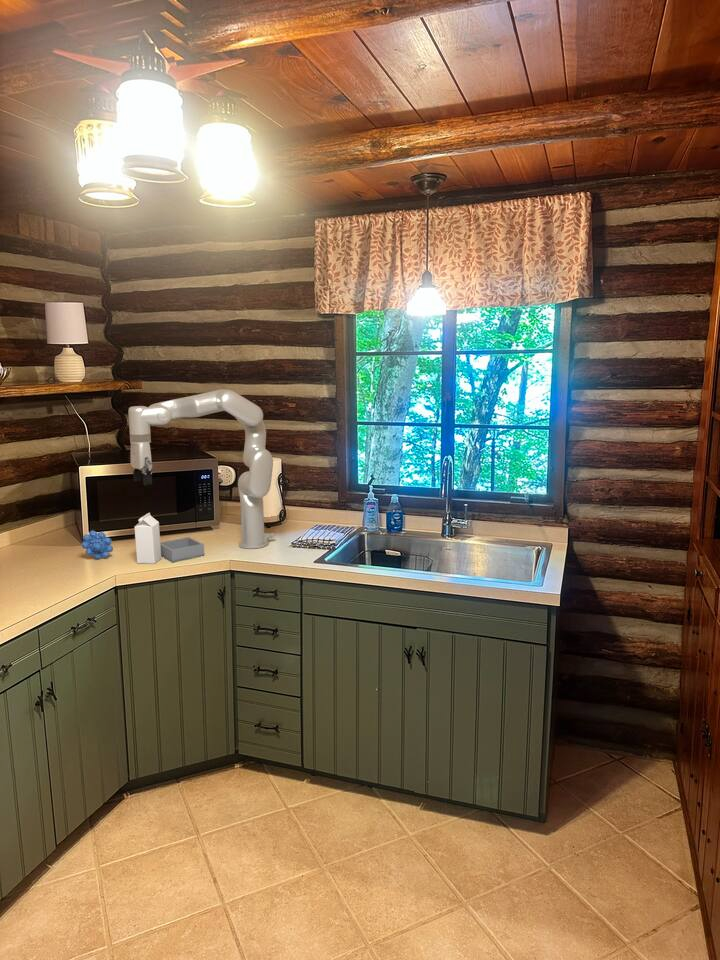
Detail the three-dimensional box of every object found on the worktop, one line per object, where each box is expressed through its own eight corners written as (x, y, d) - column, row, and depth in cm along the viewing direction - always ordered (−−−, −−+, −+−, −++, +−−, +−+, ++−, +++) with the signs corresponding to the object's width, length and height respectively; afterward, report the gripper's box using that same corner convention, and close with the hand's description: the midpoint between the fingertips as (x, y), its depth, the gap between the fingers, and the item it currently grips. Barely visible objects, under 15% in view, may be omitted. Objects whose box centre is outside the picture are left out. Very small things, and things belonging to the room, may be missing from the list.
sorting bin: (189, 548, 290) (188, 537, 289) (204, 555, 279) (203, 544, 278) (158, 554, 281) (157, 543, 280) (172, 562, 271) (171, 550, 270)
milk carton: (161, 558, 276) (158, 512, 273) (154, 564, 269) (151, 516, 266) (144, 558, 277) (141, 512, 273) (137, 563, 270) (133, 516, 266)
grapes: (82, 563, 270) (79, 534, 268) (83, 559, 277) (80, 530, 274) (113, 560, 274) (111, 531, 272) (114, 556, 280) (111, 527, 278)
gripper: (122, 437, 268) (125, 480, 271) (139, 441, 255) (142, 487, 258) (141, 435, 273) (143, 478, 276) (158, 440, 259) (161, 484, 262)
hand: (143, 482), depth 267 cm, fingers open, 9 cm apart
